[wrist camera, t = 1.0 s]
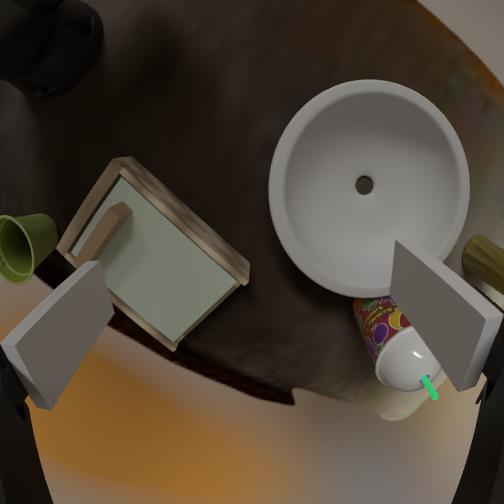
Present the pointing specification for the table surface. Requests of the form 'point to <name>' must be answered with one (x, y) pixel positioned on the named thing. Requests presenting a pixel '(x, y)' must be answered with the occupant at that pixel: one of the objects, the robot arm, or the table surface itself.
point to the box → (174, 212)
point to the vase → (485, 261)
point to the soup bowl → (382, 175)
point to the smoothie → (395, 346)
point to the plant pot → (25, 245)
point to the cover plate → (151, 262)
